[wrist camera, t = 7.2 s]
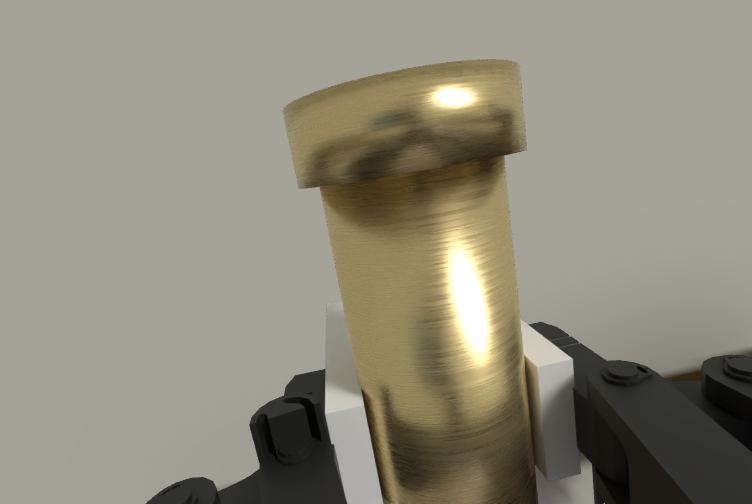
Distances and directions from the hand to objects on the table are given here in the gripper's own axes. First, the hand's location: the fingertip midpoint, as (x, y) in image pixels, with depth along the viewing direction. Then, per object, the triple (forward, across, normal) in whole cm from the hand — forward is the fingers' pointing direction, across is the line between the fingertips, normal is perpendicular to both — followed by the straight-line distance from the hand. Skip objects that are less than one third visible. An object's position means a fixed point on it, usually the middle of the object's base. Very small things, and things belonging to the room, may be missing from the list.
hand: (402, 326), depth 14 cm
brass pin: (-5, 0, -9) cm, 10 cm away
